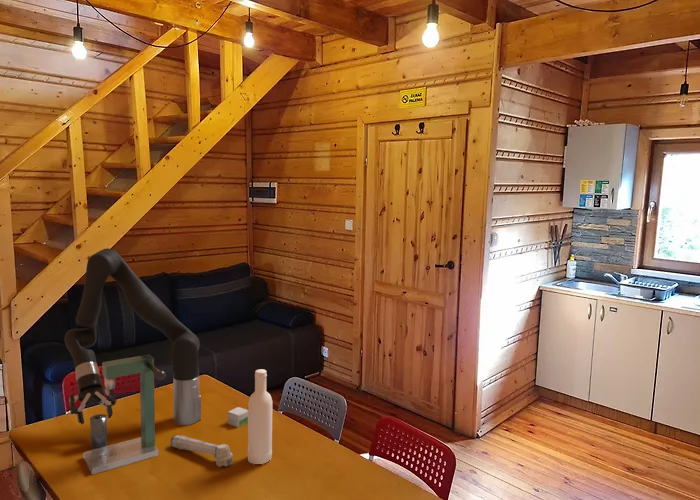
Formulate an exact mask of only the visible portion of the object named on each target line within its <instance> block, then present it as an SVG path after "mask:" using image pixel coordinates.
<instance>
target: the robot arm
mask: <svg viewBox="0 0 700 500" xmlns="http://www.w3.org/2000/svg"><path fill="white" fill-rule="evenodd" d="M85 270H86V271H85V280H84V286H83V287H84V288H83V292H82V298H81V302H80V303H79V304H80V305H79V306H78V310H77V314H76V317H75V323H76V325H77V326H79V327H82V328H71V329H69V330H67V331H66V333H65V335H64V337H63V338H64V340H63V341H64V344H65V346H66V349H67V351H68V352H69V353H70V356H71V357H72V360H73V363H74V369H75V380H76V385H77V390H78V394H77V395H74V394H71V395H70V396H69V399H68V400H69V401H68V402H69V411H70V413H69V414H70V415H77V422H78V423H79V424H81V425H84V424H85V419H84V413H83V411H84V409H85V407H86V406H88V407H91V406H93V405H95V406H96V405H99V404H100V405H101V406H103V407H105V408H106V416H107V419H111V418H112V416H113V408H112V407H113V406H116V402H117V398H116V394H115V391H114V389H111V390H106V389H105V388H103V384H102V378H101V375H100V374H101V373H100V368H99V366H98V363H97V358H96V354H95V352H94V350H93V349H88V348H92V347H93V346H94V345H95V343H97V339H98V337H97V323H98V319H99V315H100V312H101V309H102V302H103V301H102V299H103V298H102V294H103V289H104V285H105V284H106V282H107V280H108V279H109V276H110V277H111V278H112V279H113V280H114V281H115V282H116V283H117V285H119V287H120V289H121V290H122V292H123V294H124V297H125V299H126V301H127V304H128V306H129V307H130V308H131V309H132V311H133V312H134V313H135V314H136V315H137V316H138V317H139V318H140V319H141V320H143V321H144V322H145V323H146V324H148V325H149V326H152V327H153V328H155V329H157V330H158V331H160V333H162V334H164V336H165V337H167V339H168V340H169V341H170V342H171V344H172V347H171V369H172V375H173V376H172V377H173V379H172V380H173V383H172V384H173V385H172V386H173V389H172V390H173V422H174V424H175V425H178V426H189V425H193V424H195V423H197V422H198V421H202V396H201V394H200V369H199V350H200V347H201V342H200V339H199V337H198V336H197V335H196V334H195V333H194V332H192V330H190V329H189V328H188V327H186V326H185V325H184V324H183V323H182V322H181V321H180V320H179V319H178V318H177V317H176V316H175V315H174V314H173V313H172V311H171V310H170V309H169V308H168V307H167V306H166V305H165V304H164V303H163V302H162V300H161V299H160V298H159V297H158V296H157V295H156V294H155V293H154V292H153V291H152V290H151V289H150V288H149V287H148V286H147V285H146V284H145V283H144V282H143V281H142V279H140V278H139V277H138V275H137V274H136V273H135V272H134V271H133V270H132V268H131V267H130V266H129V264H127V262H126V261H125V260H124V258H123V257H122V256H121V255H120V254H119V252H117V251H116V250H114V249H112V248H103V249H101V250H99V251H97V252H95V253H93V254H91V256H90V257H89V258H88V260H87V263H86V269H85ZM105 395H106V396H107V397H108V396H109V397H108V398H109V400H108V398H106V397H105ZM77 400H79V401H80V402H81V403H80V405H79V407H78V408H76V402H77Z"/></svg>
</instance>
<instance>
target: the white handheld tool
mask: <svg viewBox="0 0 700 500" xmlns="http://www.w3.org/2000/svg"><path fill="white" fill-rule="evenodd" d="M169 443H170V446H171V447H172V448H176V449H179V450H185V451H191V452H197V453H202V454H209V455H212V456H213V455H214V456H213V460H214V461H215V465H216V466H217V467H219V468H222V467H229V466H231V465H233V458H234V453H232V452H231V450H230V446H229V445H228V444H225V443H222V444H215V443H210V442H206V441H203V440H200V439H195V438H192V437H188V436H185V435H184V434H183V435H176V434H175V435H173V436H172V437H171V439H170V442H169Z"/></svg>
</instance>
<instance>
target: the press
mask: <svg viewBox="0 0 700 500" xmlns="http://www.w3.org/2000/svg"><path fill="white" fill-rule="evenodd" d="M101 364H102V365H101V367H102V376H103V377H104V382H103V383H104V390H111V389H113V390H114V389H115V388H116V378H120V377H121V378H122V377H125V376H130V375H131V376H132V375H136V374H139V387H140V389H139V391H140V392H139V393H140V395H139V396H140V397H139V398H140V400H139V401H140V437H139V436H138V437H136V438H133V439H129V440H125V441H121V442H117V443H114V444H110V445H107V446H105V447H101V448H98V449H91V450H87V451H84V452H82V454H83V455H82V456H83V460H84V462H85V464H86V465H87V468H88V470H89V472H90V474H91V475H96V474H99V473H102V472H107V471H110V470H115V469H117V468H121V467H124V466H127V465H131V464H133V463H138V462H141V461H144V460H147V459H151V458H155V457H158V456H159V449H158V447H157V445H156V430H155V429H156V428H155V427H156V426H155V425H156V424H155V423H156V420H155V418H156V417H155V414H156V413H155V412H156V411H155V379H156V380H157V381H162V380H164V379H165V378H166V376H167V374H166V372H165V371H164V370H163V369H162V370H161V369H160V370H159V369H158V368H157V367H156V365H155V358H154V357H153V356H152V355H150V354H144V355H138V356H133V357H132V356H131V357H126V358H120V359H114V360H108V361H103V362H102V363H101Z"/></svg>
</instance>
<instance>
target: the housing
mask: <svg viewBox="0 0 700 500" xmlns="http://www.w3.org/2000/svg"><path fill="white" fill-rule="evenodd" d="M107 419H108V415H107V414H105V413H99V414H94V415H92V416H90V418H89V421H90V422H89V423H90V424H89V427H90V428H89V429H90V430H89V431H90V448H91V450H94V449H98V448H101V447H105V446H108V424H107V423H108V420H107Z"/></svg>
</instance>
